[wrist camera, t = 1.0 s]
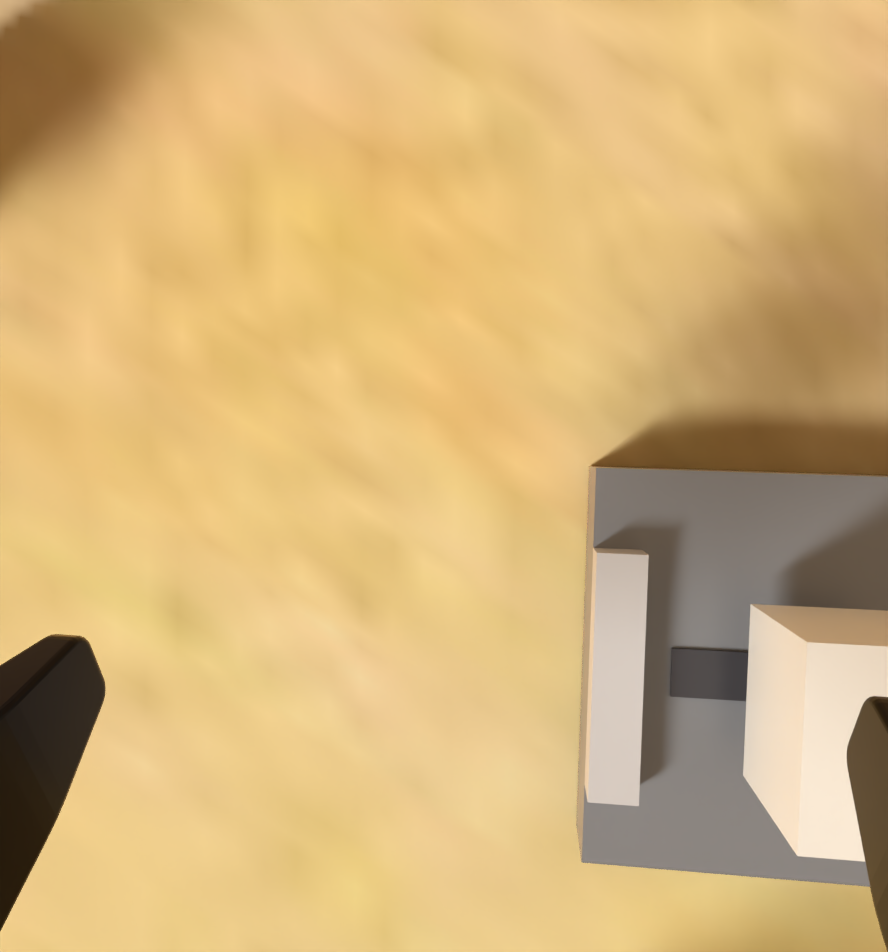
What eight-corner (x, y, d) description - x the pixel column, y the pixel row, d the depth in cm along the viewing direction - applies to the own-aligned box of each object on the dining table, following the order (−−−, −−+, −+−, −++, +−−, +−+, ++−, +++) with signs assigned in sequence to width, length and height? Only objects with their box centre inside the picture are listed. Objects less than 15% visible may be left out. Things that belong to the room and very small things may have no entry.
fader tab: (864, 770, 18) (969, 870, 14) (733, 761, 19) (797, 856, 14) (871, 603, 18) (981, 651, 14) (741, 597, 19) (807, 642, 14)
